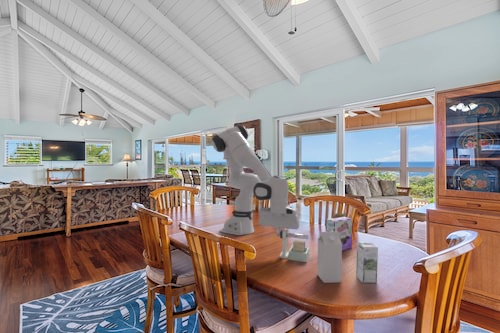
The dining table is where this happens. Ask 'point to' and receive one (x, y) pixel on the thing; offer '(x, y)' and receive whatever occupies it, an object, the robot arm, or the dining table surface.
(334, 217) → the fruit
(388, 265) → the dining table surface
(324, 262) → the milk carton
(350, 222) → the candy box
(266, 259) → the dining table surface
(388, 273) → the dining table surface
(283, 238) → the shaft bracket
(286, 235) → the shaft
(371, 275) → the syrup box
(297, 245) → the block
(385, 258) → the dining table surface
